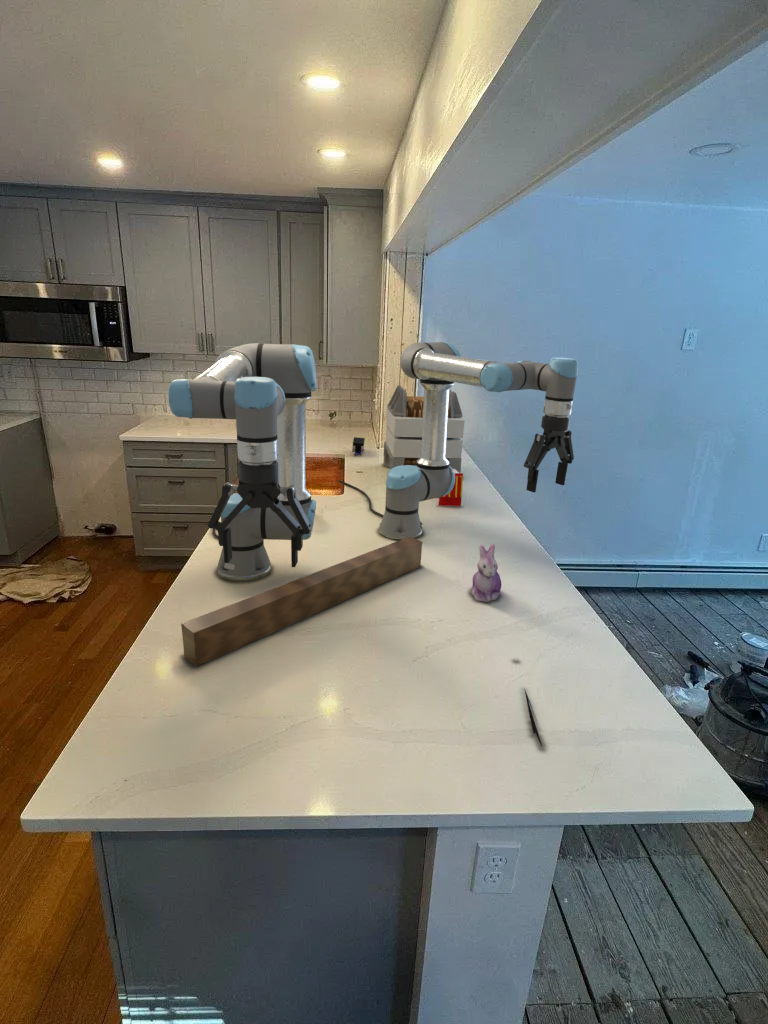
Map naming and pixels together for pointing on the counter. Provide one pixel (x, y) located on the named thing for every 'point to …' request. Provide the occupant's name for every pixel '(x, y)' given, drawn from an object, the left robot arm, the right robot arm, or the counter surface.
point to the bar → (295, 601)
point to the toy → (453, 492)
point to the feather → (532, 718)
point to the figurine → (486, 576)
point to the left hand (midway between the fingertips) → (261, 562)
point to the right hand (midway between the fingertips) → (545, 487)
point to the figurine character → (358, 445)
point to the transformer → (418, 430)
